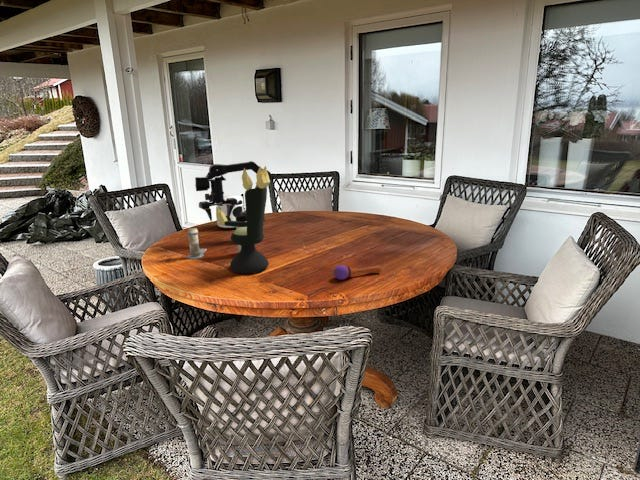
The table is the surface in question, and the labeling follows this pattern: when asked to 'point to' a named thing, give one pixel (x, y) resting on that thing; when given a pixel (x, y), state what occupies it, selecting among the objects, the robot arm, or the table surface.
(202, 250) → the bent rod
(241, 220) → the travel mug
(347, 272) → the kendama
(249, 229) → the candelabra
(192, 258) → the coaster
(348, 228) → the table surface
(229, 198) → the robot arm
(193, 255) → the ringed post
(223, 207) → the milk container
